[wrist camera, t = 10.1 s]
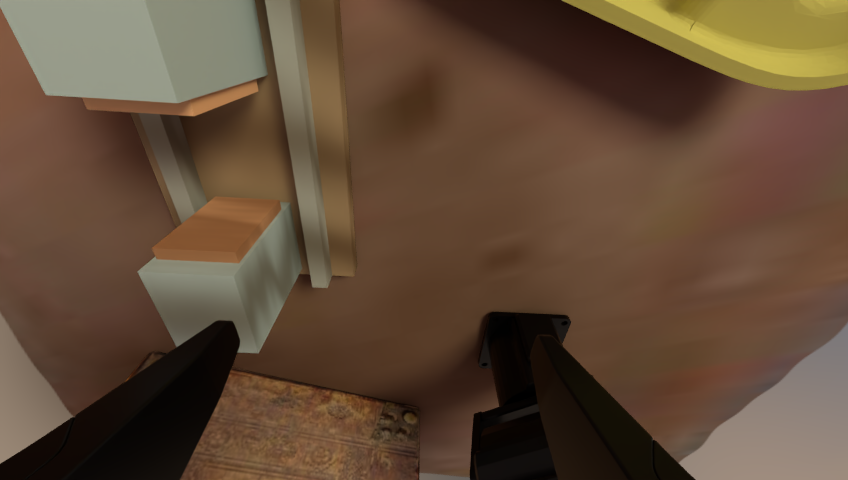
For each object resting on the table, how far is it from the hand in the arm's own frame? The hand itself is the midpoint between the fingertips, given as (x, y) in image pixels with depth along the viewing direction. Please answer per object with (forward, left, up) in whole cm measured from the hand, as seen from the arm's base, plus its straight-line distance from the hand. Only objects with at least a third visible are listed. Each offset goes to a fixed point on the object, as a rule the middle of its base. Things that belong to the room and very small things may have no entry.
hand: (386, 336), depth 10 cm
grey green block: (+8, +9, -11) cm, 16 cm away
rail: (+2, +9, -12) cm, 15 cm away
